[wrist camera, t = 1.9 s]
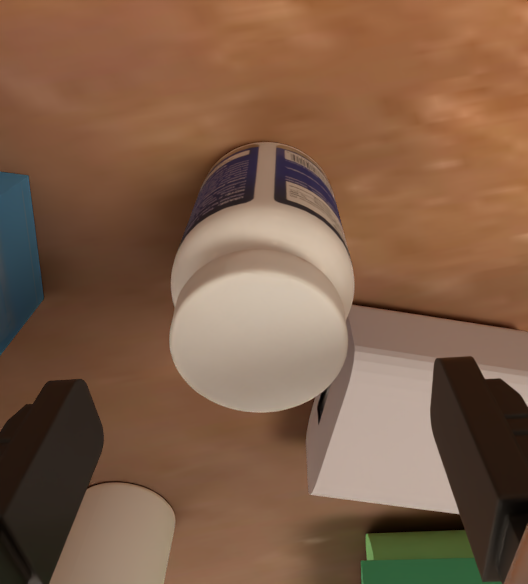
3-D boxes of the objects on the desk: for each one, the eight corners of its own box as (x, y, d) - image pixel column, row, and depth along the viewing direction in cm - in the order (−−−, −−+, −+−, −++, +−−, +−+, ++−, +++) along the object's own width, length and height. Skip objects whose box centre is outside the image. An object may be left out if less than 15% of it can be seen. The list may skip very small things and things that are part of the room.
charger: (556, 466, 29) (304, 431, 28) (644, 341, 24) (343, 294, 24) (600, 543, 25) (307, 505, 24) (716, 411, 20) (355, 358, 19)
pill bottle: (209, 267, 23) (165, 430, 14) (192, 142, 20) (124, 255, 12) (334, 262, 23) (364, 426, 14) (335, 134, 20) (375, 245, 11)
